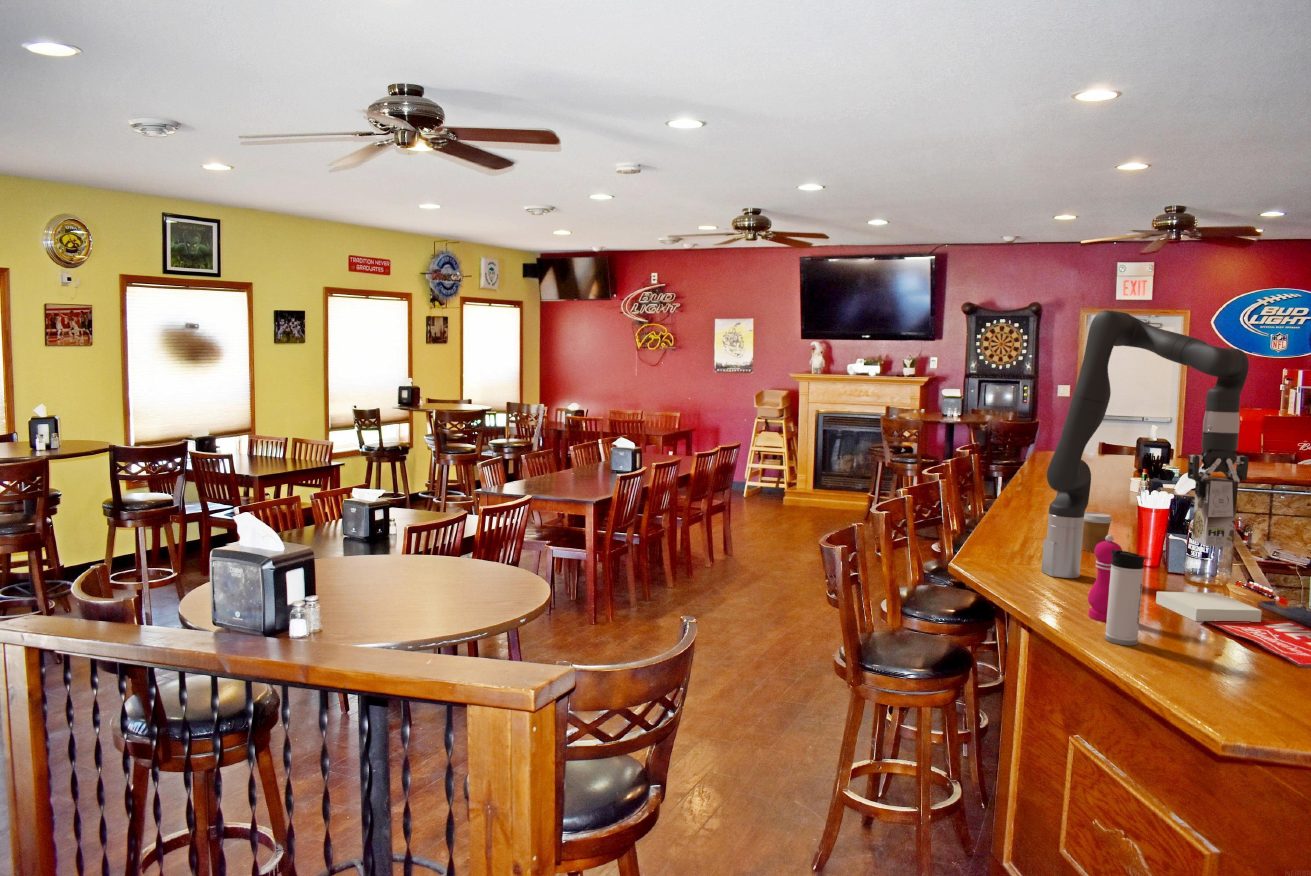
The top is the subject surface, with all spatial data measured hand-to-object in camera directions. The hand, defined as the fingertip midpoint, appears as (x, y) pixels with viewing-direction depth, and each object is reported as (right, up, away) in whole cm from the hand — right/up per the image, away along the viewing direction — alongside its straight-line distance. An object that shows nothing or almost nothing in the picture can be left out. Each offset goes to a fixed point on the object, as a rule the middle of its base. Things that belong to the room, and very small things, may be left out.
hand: (1215, 497), depth 226 cm
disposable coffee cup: (+5, -22, +74) cm, 77 cm away
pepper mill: (-31, -28, -7) cm, 43 cm away
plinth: (-1, -28, +1) cm, 28 cm away
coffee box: (0, -12, +1) cm, 12 cm away
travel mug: (-36, -30, -25) cm, 53 cm away
